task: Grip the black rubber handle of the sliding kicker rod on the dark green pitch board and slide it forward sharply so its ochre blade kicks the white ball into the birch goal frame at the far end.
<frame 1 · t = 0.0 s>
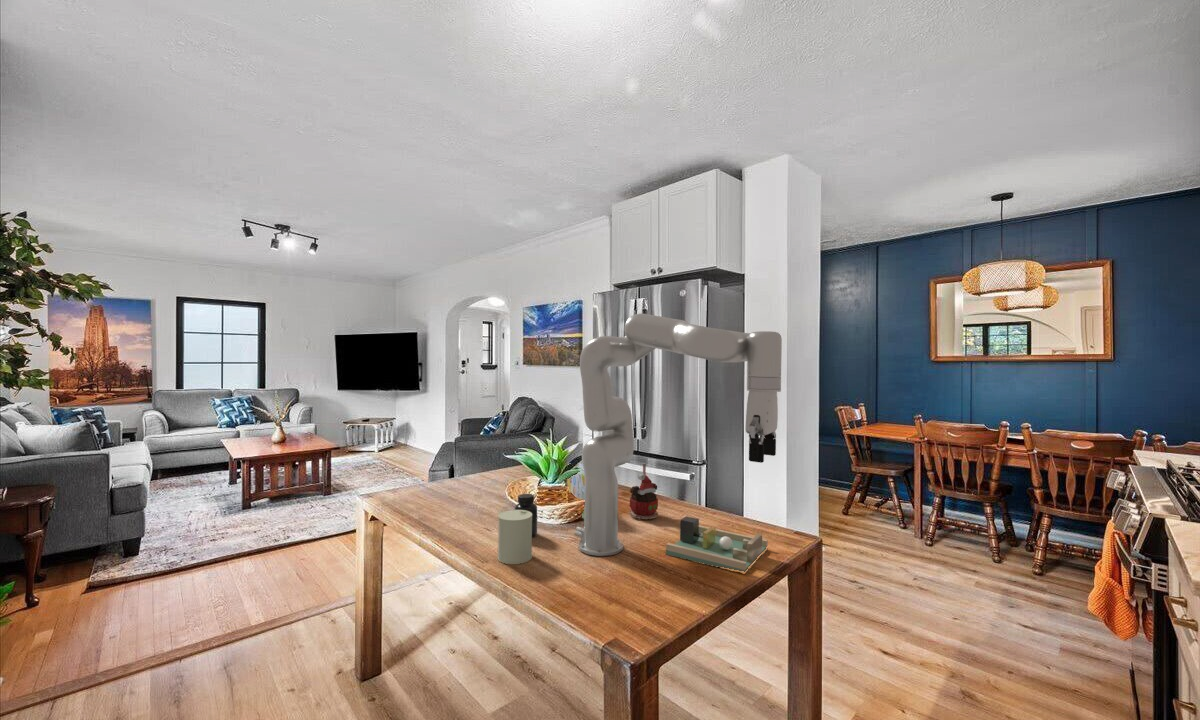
hand: (762, 458, 116), 31 cm above the table, tool pointing down, fingers open, 9 cm apart
ball: (725, 543, 139), point 3 cm above the table, touching pitch
pitch: (717, 552, 140), on the table
goal: (745, 558, 136), resting on pitch
kicker: (696, 531, 144), point 5 cm above the table, slide at 0.0 cm
snack box: (582, 512, 175), on the table
supplement bottle: (525, 535, 151), on the table
santa hat candy apple: (643, 517, 171), on the table
can: (514, 558, 135), on the table
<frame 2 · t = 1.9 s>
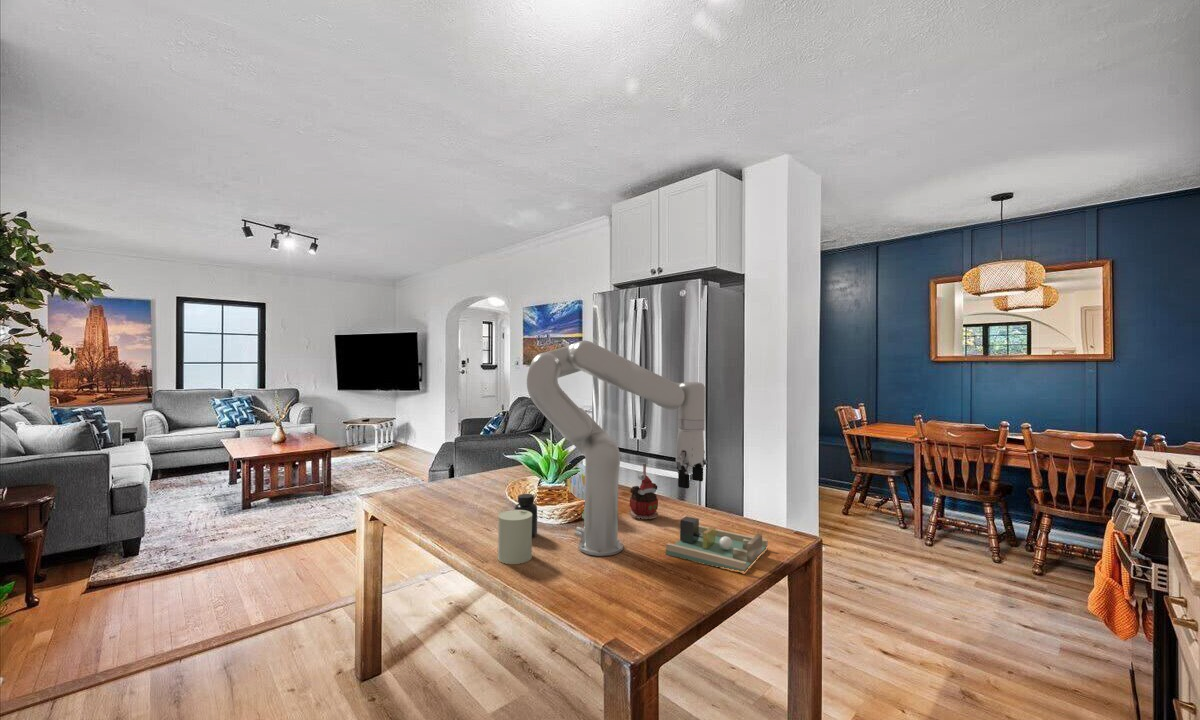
hand: (690, 483, 145), 18 cm above the table, tool pointing down, fingers open, 9 cm apart
nothing on the table moved.
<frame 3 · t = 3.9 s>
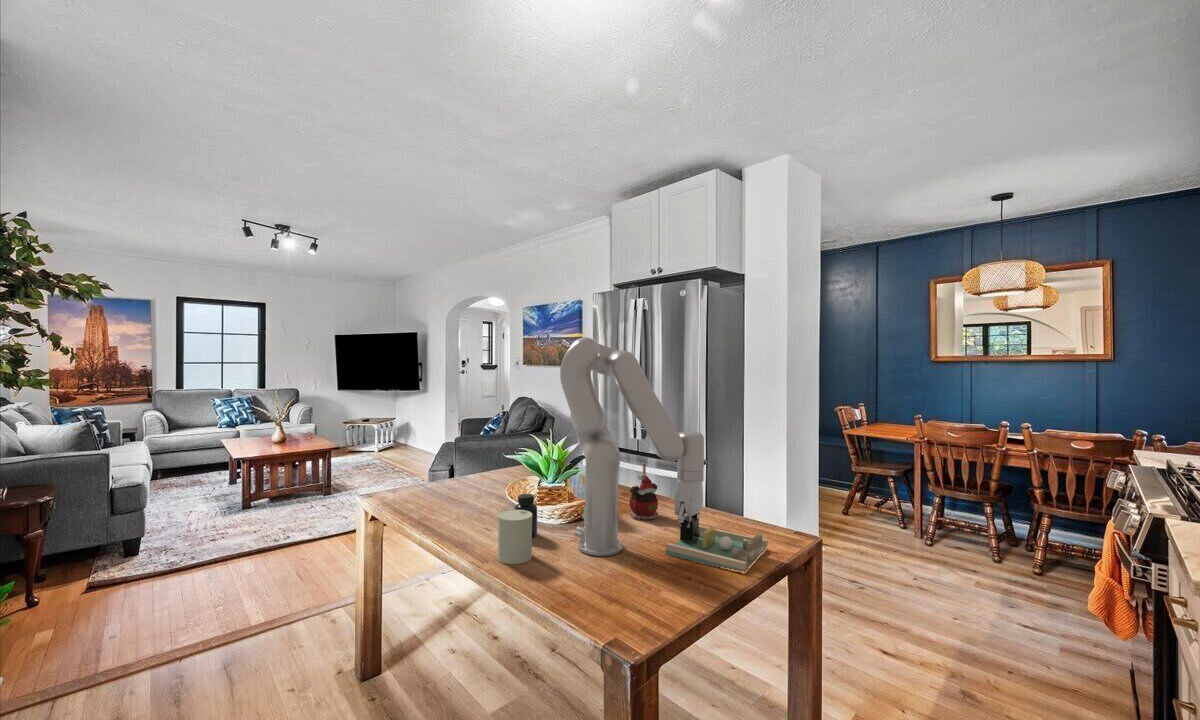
hand: (689, 537, 145), 2 cm above the table, tool pointing down, fingers closed on kicker, 4 cm apart
kicker: (696, 531, 144), point 5 cm above the table, slide at 0.0 cm, touching gripper
everything else where it was.
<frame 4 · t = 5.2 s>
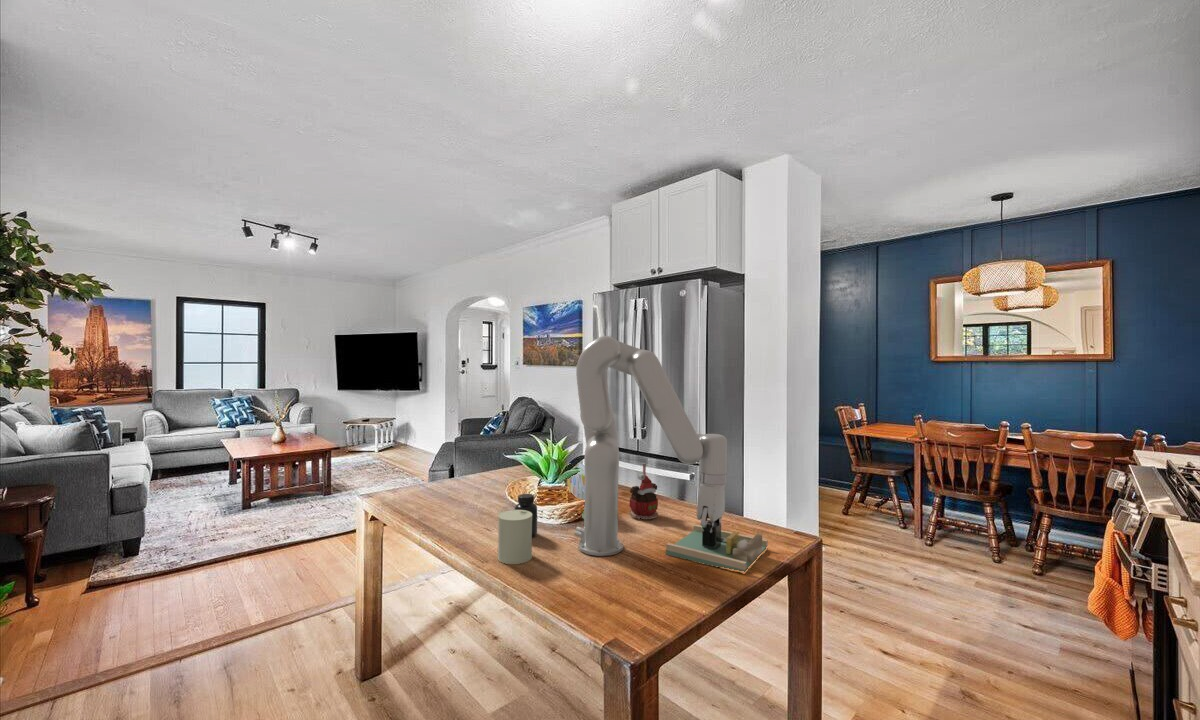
hand: (711, 542, 141), 2 cm above the table, tool pointing down, fingers closed on kicker, 4 cm apart
ball: (743, 547, 136), point 3 cm above the table, tilted 145°, touching pitch
kicker: (719, 536, 140), point 5 cm above the table, slide at 6.8 cm, touching gripper
everything else where it was.
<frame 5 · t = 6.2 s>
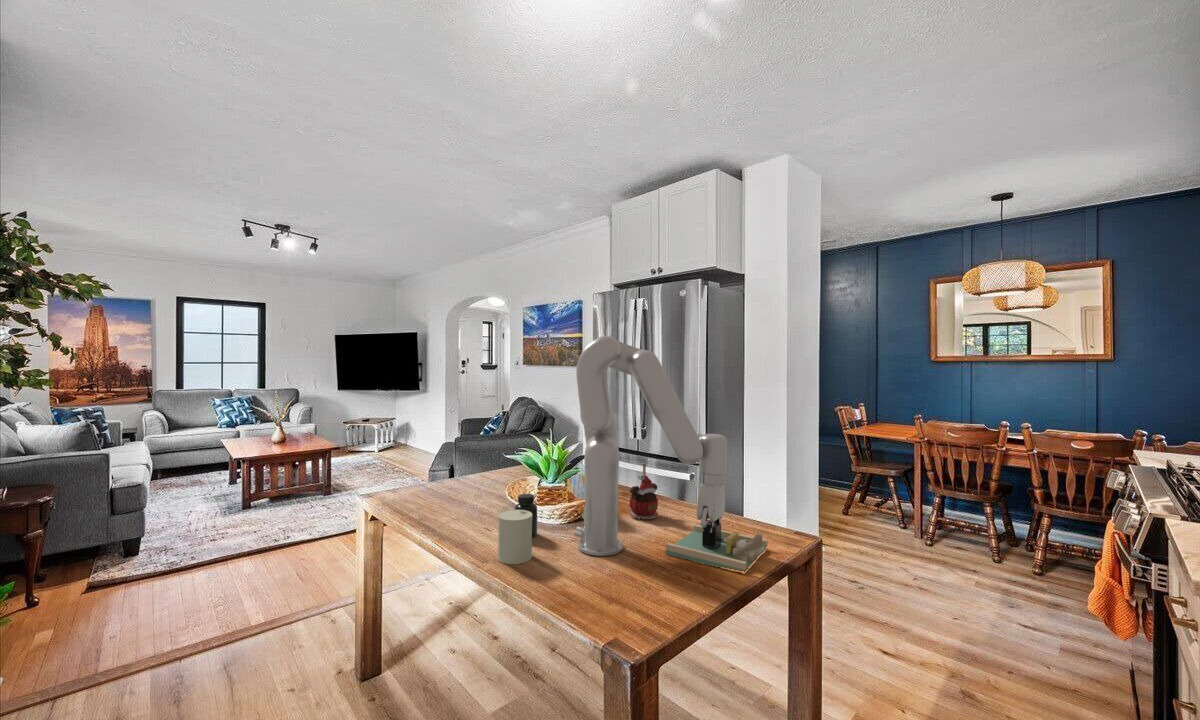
hand: (711, 542, 141), 2 cm above the table, tool pointing down, fingers closed on kicker, 4 cm apart
ball: (742, 547, 136), point 3 cm above the table, tilted 135°, touching pitch
kicker: (719, 536, 140), point 5 cm above the table, slide at 6.8 cm, touching gripper
everything else where it was.
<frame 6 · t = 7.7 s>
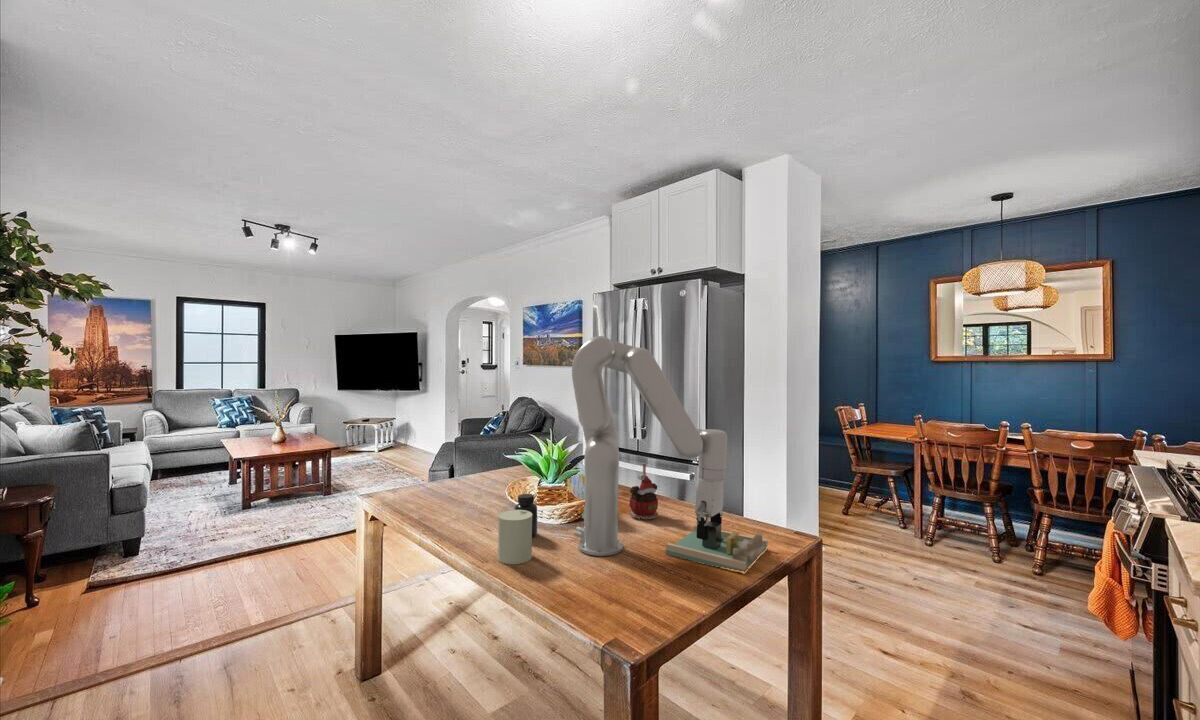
hand: (709, 534, 141), 5 cm above the table, tool pointing down, fingers open, 9 cm apart
ball: (745, 547, 136), point 3 cm above the table, tilted 164°, touching pitch
kicker: (719, 536, 140), point 5 cm above the table, slide at 6.8 cm
everything else where it was.
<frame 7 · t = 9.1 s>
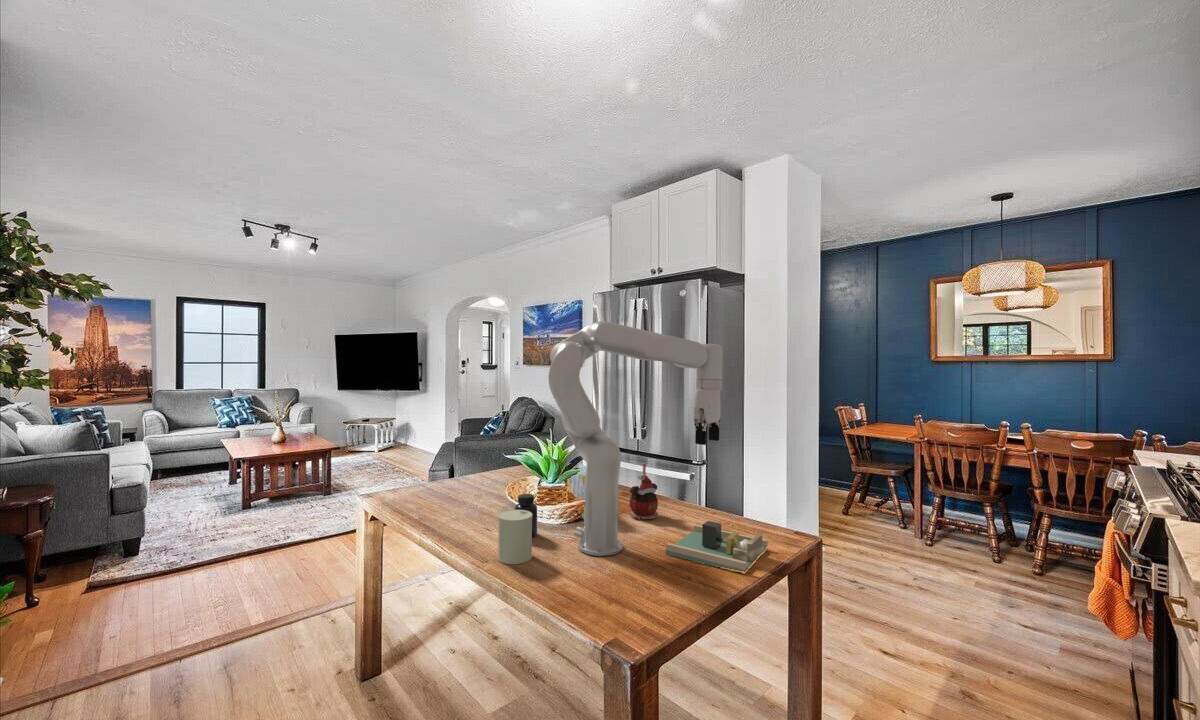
hand: (707, 442, 150), 29 cm above the table, tool pointing down, fingers open, 9 cm apart
ball: (744, 547, 136), point 3 cm above the table, tilted 157°, touching pitch
everything else where it was.
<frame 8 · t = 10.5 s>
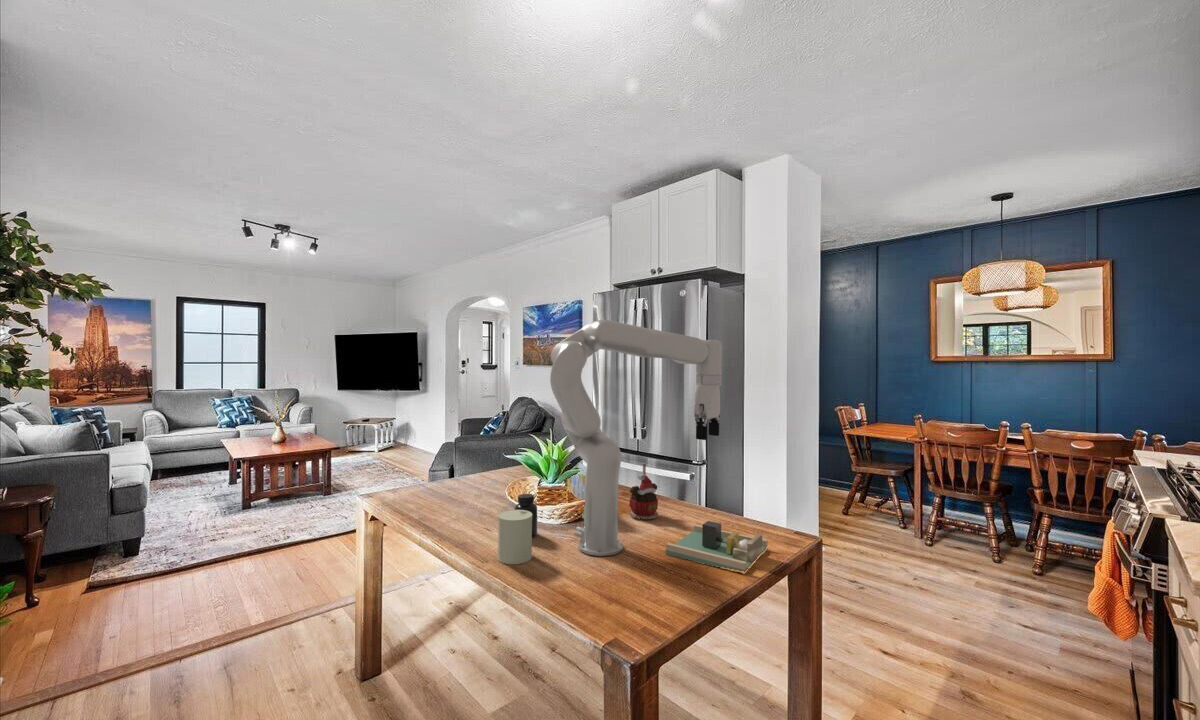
hand: (707, 437, 151), 30 cm above the table, tool pointing down, fingers open, 9 cm apart
ball: (743, 547, 136), point 3 cm above the table, tilted 148°, touching pitch
everything else where it was.
at the end: ball 0.3 cm off-centre on the goal, point 3.0 cm above the goal's base; kicker slide at 6.8 cm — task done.
